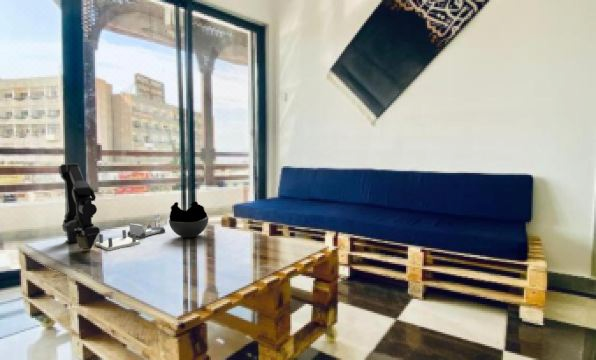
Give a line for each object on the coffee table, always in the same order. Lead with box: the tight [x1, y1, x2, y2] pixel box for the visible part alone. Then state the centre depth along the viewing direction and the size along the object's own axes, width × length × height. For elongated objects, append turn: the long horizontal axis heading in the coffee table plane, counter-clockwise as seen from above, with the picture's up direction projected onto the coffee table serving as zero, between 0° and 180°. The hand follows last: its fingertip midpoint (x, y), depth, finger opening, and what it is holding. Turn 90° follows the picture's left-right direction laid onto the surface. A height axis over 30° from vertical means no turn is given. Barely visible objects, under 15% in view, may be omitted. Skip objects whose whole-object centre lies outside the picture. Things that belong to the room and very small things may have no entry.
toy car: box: [127, 214, 166, 239], centre depth 190 cm, size 18×10×12 cm
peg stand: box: [95, 229, 141, 251], centre depth 169 cm, size 15×15×5 cm
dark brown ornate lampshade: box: [76, 233, 95, 252], centre depth 158 cm, size 8×7×8 cm
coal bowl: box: [168, 201, 209, 239], centre depth 181 cm, size 20×20×19 cm
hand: (86, 246), depth 158 cm, fingers open, 9 cm apart
